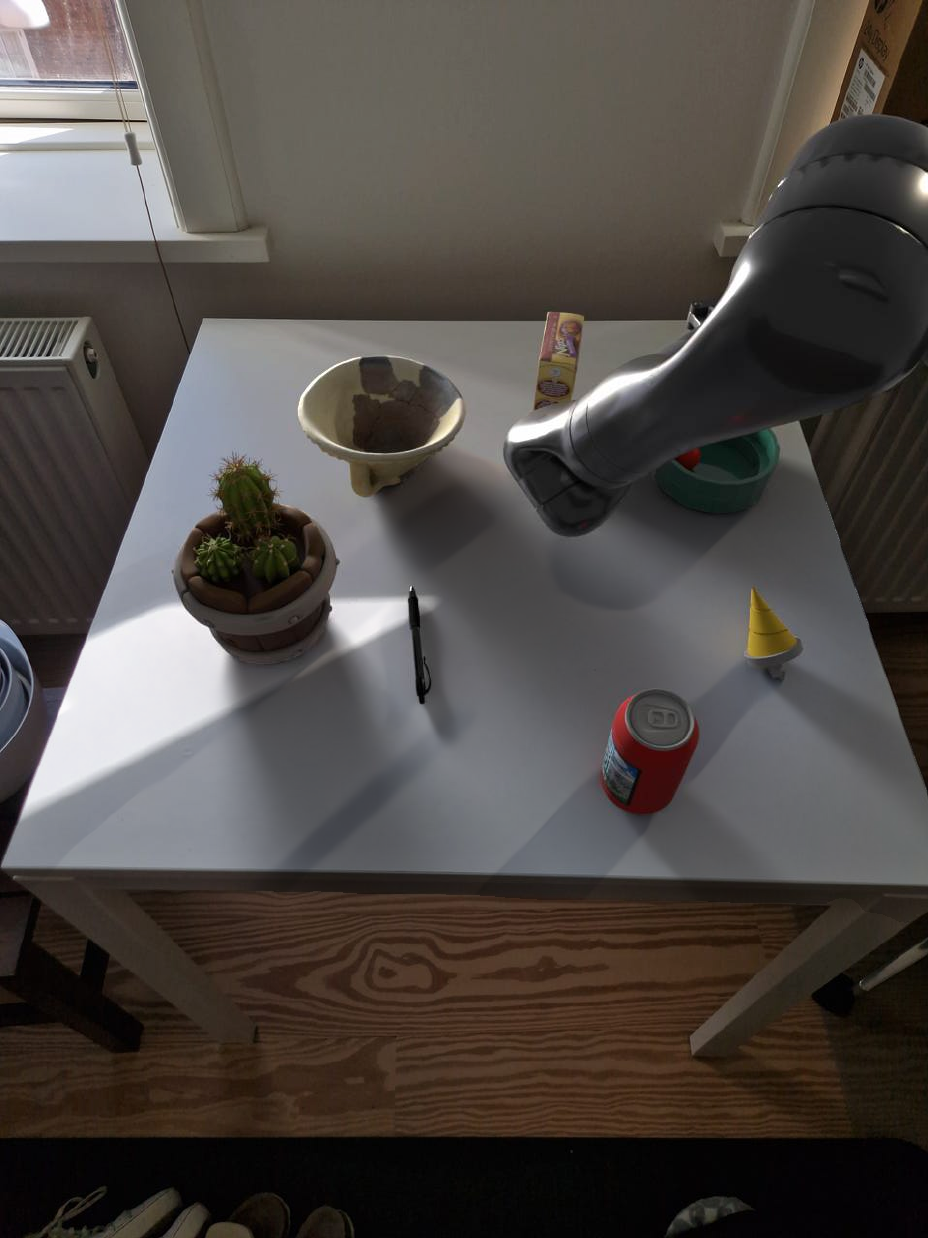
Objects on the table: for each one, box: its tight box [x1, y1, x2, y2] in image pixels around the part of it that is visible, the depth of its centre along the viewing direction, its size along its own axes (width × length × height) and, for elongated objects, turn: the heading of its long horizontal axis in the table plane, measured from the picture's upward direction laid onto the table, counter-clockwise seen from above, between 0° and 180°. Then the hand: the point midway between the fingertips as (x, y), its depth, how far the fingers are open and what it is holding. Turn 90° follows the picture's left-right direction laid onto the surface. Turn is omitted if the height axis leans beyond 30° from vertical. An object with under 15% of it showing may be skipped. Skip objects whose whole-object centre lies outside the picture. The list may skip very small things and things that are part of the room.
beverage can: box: [600, 688, 700, 816], centre depth 71 cm, size 7×7×12 cm
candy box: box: [532, 311, 585, 412], centre depth 96 cm, size 9×4×15 cm, turn 170°
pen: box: [407, 585, 433, 705], centre depth 84 cm, size 14×2×1 cm, turn 6°
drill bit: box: [743, 586, 804, 683], centre depth 82 cm, size 5×5×10 cm
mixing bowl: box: [652, 428, 781, 514], centre depth 97 cm, size 13×13×5 cm
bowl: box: [297, 355, 467, 499], centre depth 96 cm, size 18×18×10 cm
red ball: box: [674, 448, 700, 469], centre depth 98 cm, size 3×3×3 cm
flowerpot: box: [171, 450, 341, 665], centre depth 78 cm, size 14×15×20 cm
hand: (803, 304), depth 82 cm, fingers closed on stirring stick, 2 cm apart
